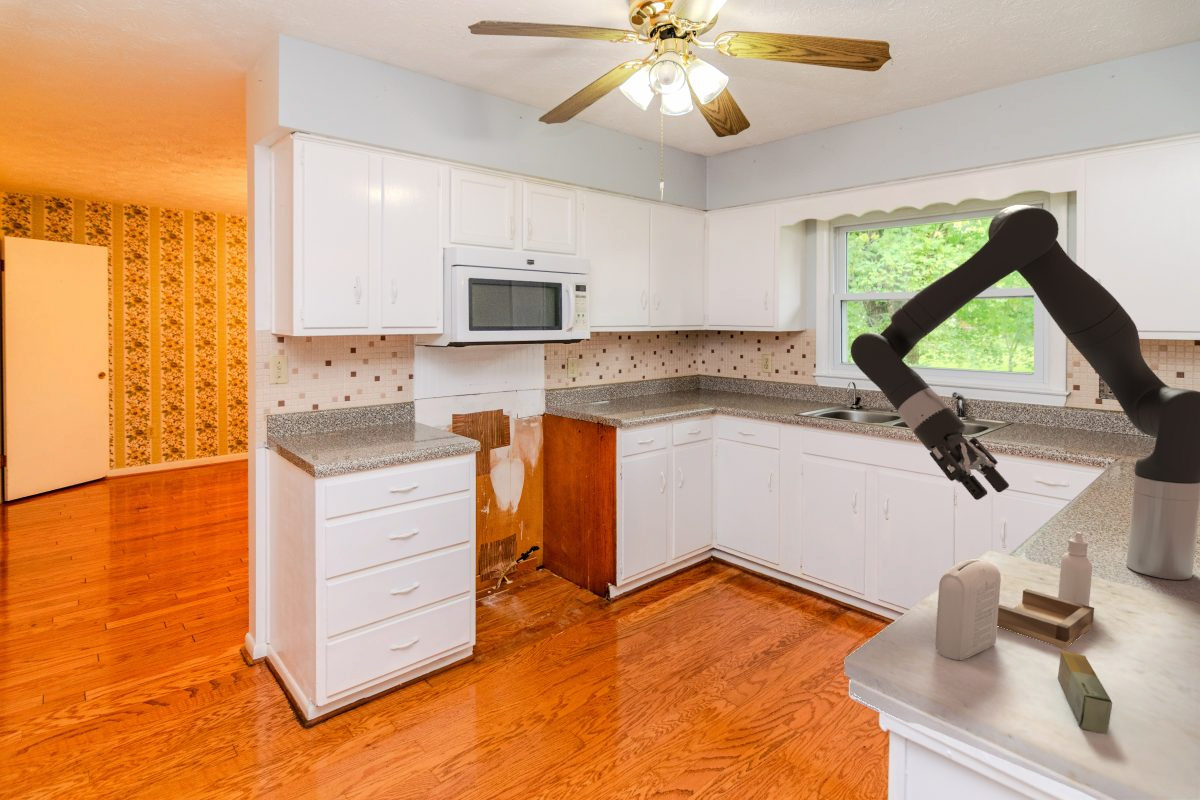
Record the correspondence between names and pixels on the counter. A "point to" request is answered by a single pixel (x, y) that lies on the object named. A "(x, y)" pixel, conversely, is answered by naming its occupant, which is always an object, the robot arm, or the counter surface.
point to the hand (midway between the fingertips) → (993, 493)
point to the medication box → (1084, 693)
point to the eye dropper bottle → (1075, 572)
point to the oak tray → (1047, 618)
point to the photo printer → (967, 609)
